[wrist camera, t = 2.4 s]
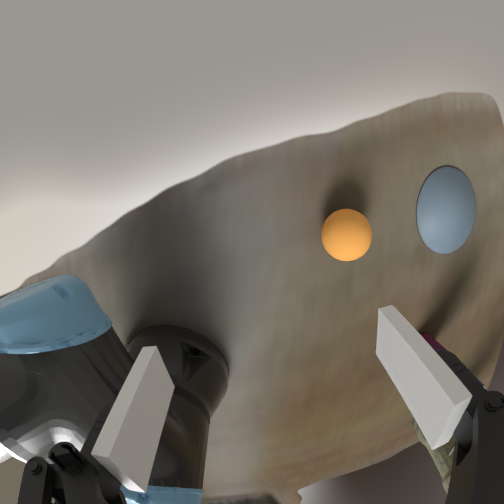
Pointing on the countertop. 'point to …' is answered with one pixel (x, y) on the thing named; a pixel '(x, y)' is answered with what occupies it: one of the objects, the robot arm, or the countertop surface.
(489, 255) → the countertop surface
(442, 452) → the thermos
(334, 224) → the ball
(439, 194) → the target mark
